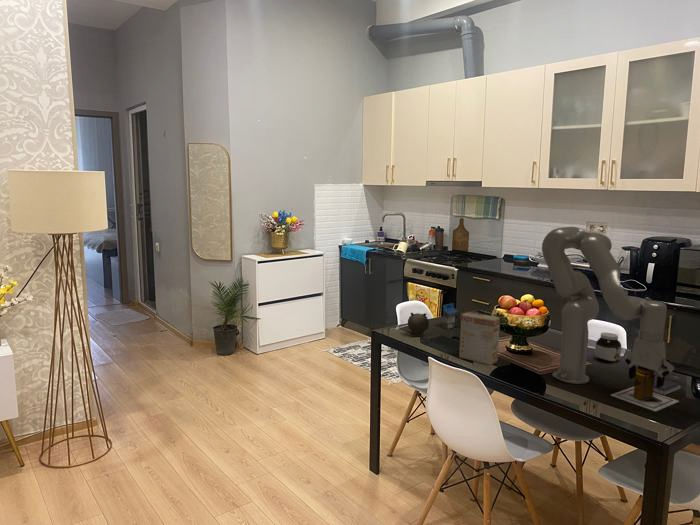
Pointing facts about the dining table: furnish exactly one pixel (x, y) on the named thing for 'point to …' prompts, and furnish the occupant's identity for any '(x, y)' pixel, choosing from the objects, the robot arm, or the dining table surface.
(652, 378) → the condiment
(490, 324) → the coffeecake box
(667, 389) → the ink pad
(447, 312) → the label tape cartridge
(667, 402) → the marked sheet
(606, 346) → the spread jar
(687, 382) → the dining table surface
